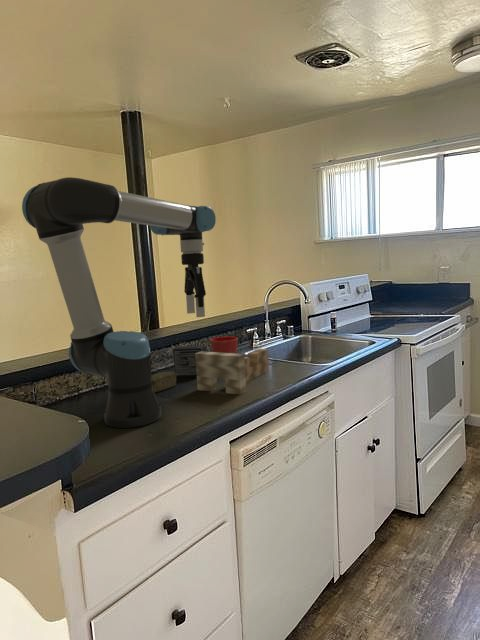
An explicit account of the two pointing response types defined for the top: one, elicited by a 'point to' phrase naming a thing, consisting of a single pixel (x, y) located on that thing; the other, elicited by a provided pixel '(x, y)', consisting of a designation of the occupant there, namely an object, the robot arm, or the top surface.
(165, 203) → the robot arm
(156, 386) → the stone block
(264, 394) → the top surface
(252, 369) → the oak board
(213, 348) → the flower pot
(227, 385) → the beige wooden slab
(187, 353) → the small box
